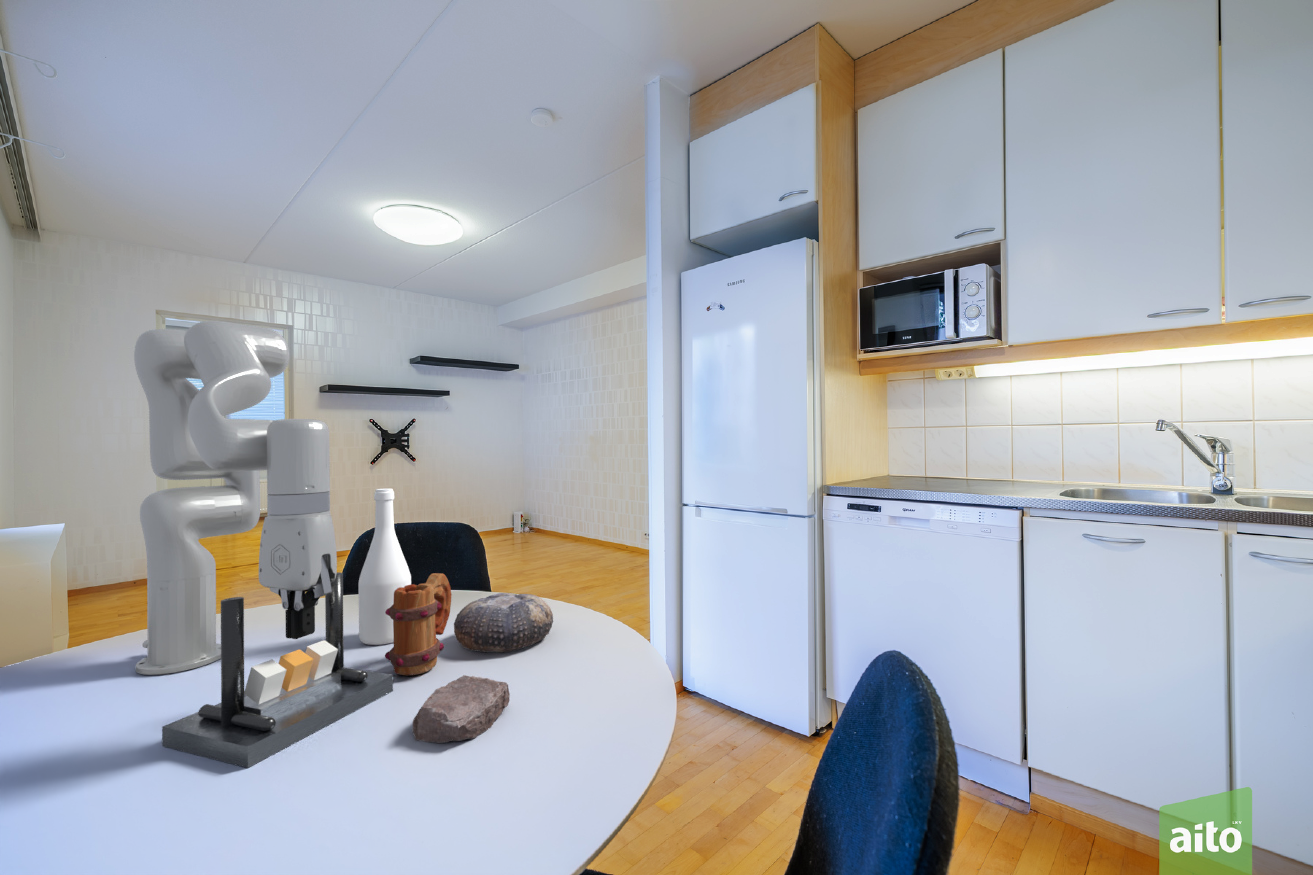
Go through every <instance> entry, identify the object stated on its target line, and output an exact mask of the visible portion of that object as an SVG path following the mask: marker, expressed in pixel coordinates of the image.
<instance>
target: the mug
mask: <svg viewBox="0 0 1313 875" xmlns="http://www.w3.org/2000/svg"><path fill="white" fill-rule="evenodd" d="M452 595H453V594H452V589H451V585H450V582H449V580H448V578H447V576H446V575H445V574H444V573H439V572H437V573H436V572H435V573H431V574H430V575H429V576H428V578H427V580H426V582H424V583H419V584H418V585H417V584H415V583H413V584H412V583H411V585H407V586H404V588H403V587H399V588H397V589H396V590H395V591H394V603H393V605H392V606H391V607H390V608H388V609H387V610H386V611H385V613H386V614H387V615H389V616H390V618H391V619H393V631H394V642H393V647H392V648H391V649H390V650H388V651H387V652H386V653H385V654H384V658H385V659H386V660H388V661H389V662H390V664H391V665H392V666H393V672H394V673H395V674H396V675H400V676H409V677H411V676H416V675H417V676H418V675H420V674H424V673H427V672H429V671H430V670H432V669H433V668H434V667H435V666H436V665H437V663H438V656H439V655H440V653H441V651H443V650H444V648H445V644H444V643H443V642H441V641H440V640H439V638H438V637H437V636H441V635H443V634H444V632H445V629H446V627H447V623H448V620H449V617H450V613H451V607H452V606H451V605H452Z"/></svg>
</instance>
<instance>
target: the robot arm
mask: <svg viewBox="0 0 1313 875" xmlns="http://www.w3.org/2000/svg"><path fill="white" fill-rule="evenodd" d="M136 339H137V340H136V342H135V346H134V351H133V352H134V353H133V354H134V355H133V358H134V367H135V371H136V374H137V377H138V380H139V383H140V384H141V387H142V390H143V392H144V393H145V398H146V400H147V403H148V404H147V405H148V413H149V414H148V415H149V416H148V419H149V422H148V423H149V424H148V425H149V427H148V429H149V430H148V431H149V456H150V465H151V469H152V472H153V473H154V474H155V476H157V477H158V478H160V479H163V480H167V481H168V480H172V481H190V480H212V479H223V480H224V482H225V485H212V486H211V485H209V486H208V485H207V486H205V485H204V486H202V485H201V486H188V487H187V486H186V487H184V486H183V487H173V488H166V489H162V490H158V491H155V492H153V493H151V494H149V495H147V496H146V497H145V498H144V499H143V501H142V503H141V504H140V508H139V519H140V520H139V521H140V523H141V524H140V525H141V528H142V534H143V538H144V539H143V540H144V543H145V544H144V545H145V553H146V554H145V555H146V571H147V572H146V576H147V578H146V580H147V582H146V583H147V584H146V585H147V590H146V592H147V594H146V595H147V603H146V604H147V606H146V608H147V610H146V613H147V618H146V620H147V632H146V635H147V640H144V641H143V642H142V648H145V649H146V650H147V651H146V652H147V656H146V657H144V658H142V659H140V660H138V661H137V663H135V672H136V673H138V674H139V675H144V676H145V675H147V676H153V675H154V676H155V675H159V676H160V675H167V674H173V673H174V674H175V673H179V672H183V671H188V670H192V669H196V668H200V667H203V666H206V665H209V664H211V663H215V662H216V661H218V660H221V643H217V584H216V583H217V574H216V573H217V569H216V568H217V567H216V566H217V564H216V560H215V558H214V556H213V554H212V553H211V552H210V551H209V550H208V549H207V548H205V547H204V546H203V545H202V544H201V543H200V542H199V540H200V539H205V538H211V537H219V536H220V537H221V536H227V535H235V534H241V533H246V532H249V531H251V530H252V529H254V528H255V527H256V526H257V524H259V520H260V516H261V480H260V477H261V476H260V475H261V474H260V471H266V494H267V495H266V499H267V501H266V503H267V504H266V510H267V512H266V513H267V515H266V516H265V517H264V520H263V524H262V530H261V535H260V543H259V556H258V582H259V584H260V585H261V586H263V587H264V588H268V589H269V591H270V592H272V593H273V594H277V595H278V596H279V597H280V600H281V606H282V609H283V610H285V638H286V639H292V640H298V639H301V638H304V637H306V636H309V635H313V634H314V633H315V632H316V613H315V612H316V606H317V605H318V604H319V599H320V598H322V597H325V595H329V594H331V593H332V589H331V584H330V583H332V582H333V581H334V580H335V578H336V573H337V568H338V564H337V563H338V556H337V543H336V534H335V528H334V523H333V518H332V514H331V492H330V491H331V484H330V483H331V475H330V474H331V469H330V468H331V466H330V465H331V464H330V463H331V462H330V457H331V456H330V455H331V454H330V453H331V452H330V429H329V427H328V424H327V423H326V422H324V421H323V420H319V419H315V418H314V419H311V418H282V419H276V420H275V419H254V418H253V419H250V418H249V419H248V418H226V417H224V416H229V415H231V414H234V413H238V412H240V411H244V410H247V409H250V408H253V407H254V406H256V405H258V404H260V403H261V402H263V401H264V400H265V399H266V398H267V397H268V395H269V394H270V391H271V390H272V381H271V380H272V378H275V377H278V376H279V375H281V374H282V373H284V371H285V370H286V369H287V367H288V365H289V362H290V348H289V345H288V343H287V341H286V340H285V338H284V337H283V336H282V335H281V334H280V333H279V332H277V331H276V330H274V329H271V328H268V327H261V326H256V325H255V326H254V325H249V324H242V323H236V322H229V321H222V320H205V321H200V322H197V323H195V324H193V325H192V326H190V327H189V328H187V330H183V329H175V328H172V329H170V328H157V329H151V330H146V331H145V332H143V333H141V334H140V335H139V337H138V338H136ZM189 379H191V380H192V379H194V380H200V381H201V382H202V384H203V386H202V387H201V388H200V389H198V387H197V386H195V384H193V383H192V382H191V381H190V380H189Z"/></svg>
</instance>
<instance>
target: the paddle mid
mask: <svg viewBox="0 0 1313 875" xmlns="http://www.w3.org/2000/svg"><path fill="white" fill-rule="evenodd" d="M312 663H313V658H311V657H310V656H308V655H307V654H306V653H305V652H304V651H303V650H302V649H296V650H294V651H291V652H288V653H286V654H283V655H281V656H280V657H279V660H278V664H279V665H281V666H282V667H284V668H285V669H286V674H285V677H284V680H283V684H282V687H281V688H283V689H284V690H285V691H287V692H289V691H291V690H293V689H296V688H298V687H300V686H302V685H305V684H306V683H307V679H308V676H309V673H310V669H311V666H312Z"/></svg>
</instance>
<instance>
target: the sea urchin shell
mask: <svg viewBox="0 0 1313 875" xmlns="http://www.w3.org/2000/svg"><path fill="white" fill-rule="evenodd" d="M553 623H554V615H553V611H552V609H551V607H550V605H548V603H547V602H546V601H545V600H544V599H542V598H541V597H540V596H537V595H536V594H531V593H518V594H515V593H512V592H499V593H495V594H492V595H488V596H486V597H482V598H478V599H477V600H473V601H471V602H469V603H468V604H466V605H465V606H464V607H463V608H461V610H460V611H459V613H458V614H456V618H455V620H454V623H453V633H454V636H455V638H456V641H457V642H458V644H460V645H461V646H462V647H463V648H465V649H467V650H469V651H474V650H476V651H477V652H481V653H490V652H491V653H492V652H494V653H507V651H508V652H513V651H518V650H521V649H523V648H525V647H530V646H532V645H535V644H536V643H538V642H540V641H542V640H543V639H545V638H546V637H547V635H548V634H550V632H551V629H552V627H553Z"/></svg>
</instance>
